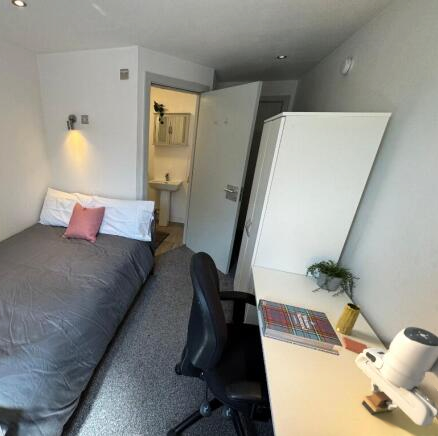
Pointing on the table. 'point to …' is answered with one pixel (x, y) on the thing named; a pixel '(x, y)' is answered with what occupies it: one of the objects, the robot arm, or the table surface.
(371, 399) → the brush
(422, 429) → the table surface
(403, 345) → the robot arm
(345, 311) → the vase
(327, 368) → the table surface
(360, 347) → the tile
